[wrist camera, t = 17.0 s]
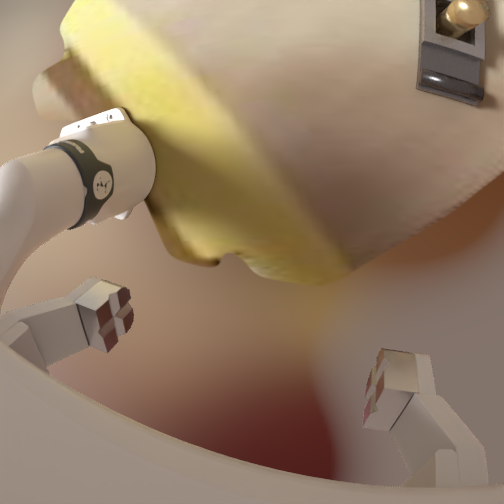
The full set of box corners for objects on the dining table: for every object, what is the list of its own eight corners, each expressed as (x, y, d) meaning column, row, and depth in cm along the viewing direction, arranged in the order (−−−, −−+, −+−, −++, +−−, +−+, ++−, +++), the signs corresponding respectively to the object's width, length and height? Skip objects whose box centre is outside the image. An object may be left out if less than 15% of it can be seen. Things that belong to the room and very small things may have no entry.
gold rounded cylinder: (435, 34, 27) (458, 15, 19) (435, 10, 26) (457, -14, 17) (461, 42, 27) (490, 26, 18) (461, 18, 25) (488, -3, 16)
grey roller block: (472, 105, 30) (487, 106, 25) (416, 88, 32) (424, 86, 27) (473, -25, 21) (484, -38, 16) (417, -43, 22) (424, -58, 18)
